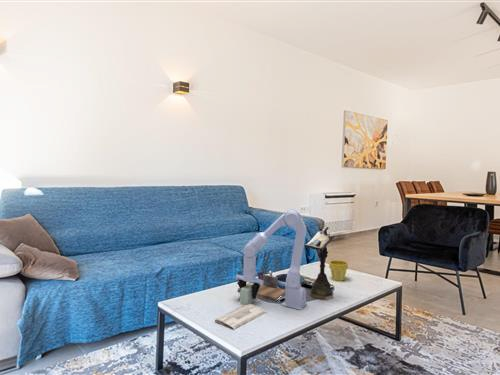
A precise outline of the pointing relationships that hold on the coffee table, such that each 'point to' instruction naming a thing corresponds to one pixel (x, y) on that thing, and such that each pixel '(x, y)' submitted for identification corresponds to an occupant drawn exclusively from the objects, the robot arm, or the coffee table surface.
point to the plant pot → (338, 269)
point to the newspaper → (241, 316)
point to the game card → (260, 274)
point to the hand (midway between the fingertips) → (248, 297)
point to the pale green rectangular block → (246, 295)
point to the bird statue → (321, 266)
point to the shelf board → (269, 288)
